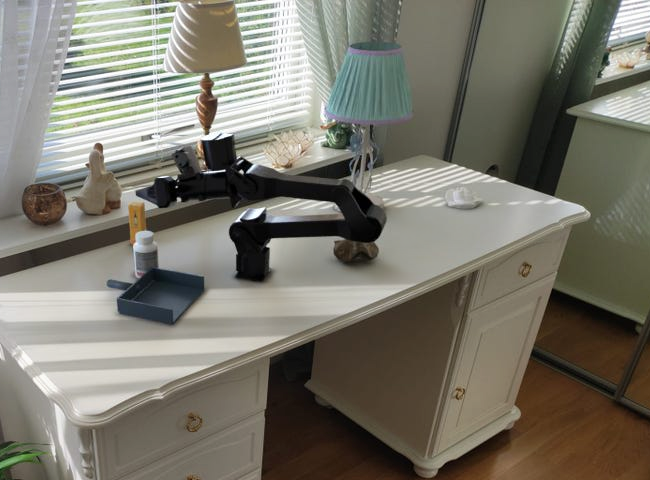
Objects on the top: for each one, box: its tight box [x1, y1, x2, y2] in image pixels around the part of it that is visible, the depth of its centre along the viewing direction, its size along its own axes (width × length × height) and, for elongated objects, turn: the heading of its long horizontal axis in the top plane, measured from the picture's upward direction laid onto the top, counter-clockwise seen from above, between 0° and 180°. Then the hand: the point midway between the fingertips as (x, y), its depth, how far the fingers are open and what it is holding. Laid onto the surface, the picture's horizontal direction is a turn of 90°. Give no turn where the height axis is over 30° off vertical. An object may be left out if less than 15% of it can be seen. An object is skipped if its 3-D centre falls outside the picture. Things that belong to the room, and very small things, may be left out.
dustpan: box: [106, 267, 205, 326], centre depth 150 cm, size 19×16×3 cm
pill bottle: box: [132, 230, 160, 279], centre depth 158 cm, size 5×5×10 cm
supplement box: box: [127, 201, 147, 246], centre depth 173 cm, size 3×3×10 cm
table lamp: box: [324, 41, 415, 213], centre depth 180 cm, size 22×22×40 cm
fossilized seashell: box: [332, 238, 380, 263], centre depth 163 cm, size 8×7×10 cm
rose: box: [444, 186, 484, 210], centre depth 191 cm, size 10×4×10 cm
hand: (145, 190), depth 159 cm, fingers open, 9 cm apart
